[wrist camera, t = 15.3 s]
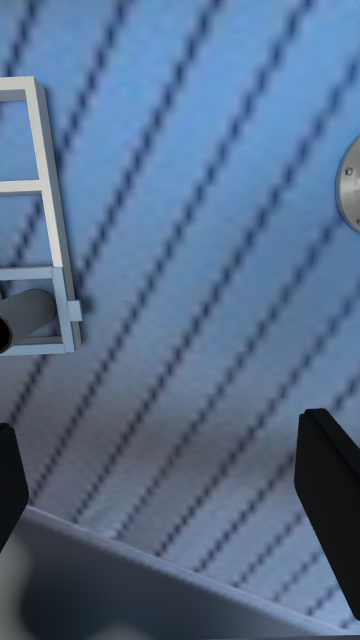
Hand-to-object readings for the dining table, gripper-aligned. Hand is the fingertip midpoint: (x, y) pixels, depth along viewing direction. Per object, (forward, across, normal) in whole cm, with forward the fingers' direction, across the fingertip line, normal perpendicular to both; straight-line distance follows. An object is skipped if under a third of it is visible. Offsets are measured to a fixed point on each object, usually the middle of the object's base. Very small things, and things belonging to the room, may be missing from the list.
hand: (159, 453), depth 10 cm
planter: (+28, +17, +1) cm, 33 cm away
